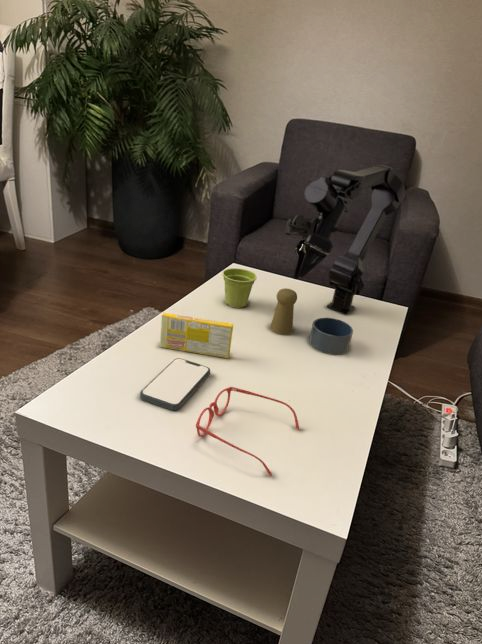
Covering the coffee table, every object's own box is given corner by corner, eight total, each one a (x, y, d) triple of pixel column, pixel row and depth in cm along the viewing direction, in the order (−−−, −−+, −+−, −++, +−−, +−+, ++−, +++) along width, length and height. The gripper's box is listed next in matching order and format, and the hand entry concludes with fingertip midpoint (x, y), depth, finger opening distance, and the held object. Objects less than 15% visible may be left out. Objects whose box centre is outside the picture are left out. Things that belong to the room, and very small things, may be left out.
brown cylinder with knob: (296, 328, 142) (303, 290, 136) (287, 337, 137) (294, 297, 132) (275, 321, 144) (281, 283, 138) (266, 329, 139) (272, 290, 133)
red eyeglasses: (227, 399, 109) (230, 379, 107) (301, 426, 105) (306, 405, 103) (185, 447, 95) (187, 425, 93) (269, 480, 91) (273, 458, 88)
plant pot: (218, 294, 153) (221, 266, 149) (251, 297, 155) (255, 269, 151) (219, 309, 145) (223, 279, 141) (254, 312, 147) (258, 282, 143)
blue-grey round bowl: (319, 330, 143) (323, 313, 140) (354, 344, 139) (359, 327, 136) (302, 344, 135) (305, 326, 132) (338, 359, 131) (343, 341, 128)
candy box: (230, 354, 125) (234, 323, 121) (228, 359, 123) (232, 327, 119) (161, 343, 125) (163, 311, 121) (159, 347, 124) (161, 315, 120)
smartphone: (177, 413, 104) (212, 374, 117) (177, 407, 103) (212, 367, 116) (137, 399, 106) (175, 362, 119) (137, 393, 105) (176, 356, 118)
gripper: (292, 211, 139) (264, 265, 140) (303, 197, 121) (272, 259, 121) (329, 231, 141) (302, 284, 141) (346, 221, 122) (315, 282, 123)
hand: (297, 277), depth 132 cm, fingers open, 9 cm apart
